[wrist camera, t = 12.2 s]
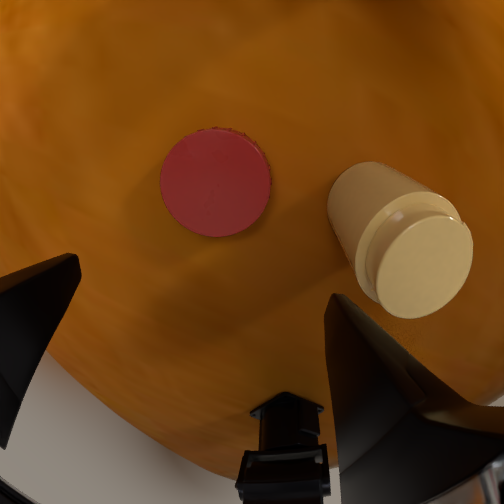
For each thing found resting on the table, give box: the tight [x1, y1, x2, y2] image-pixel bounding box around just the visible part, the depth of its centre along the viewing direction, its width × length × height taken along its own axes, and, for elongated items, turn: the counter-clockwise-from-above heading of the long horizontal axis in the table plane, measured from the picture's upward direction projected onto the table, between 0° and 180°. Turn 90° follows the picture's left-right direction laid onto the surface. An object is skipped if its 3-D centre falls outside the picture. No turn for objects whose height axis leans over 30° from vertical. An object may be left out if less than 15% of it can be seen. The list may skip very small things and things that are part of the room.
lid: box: [160, 127, 272, 237], centre depth 17 cm, size 7×7×2 cm
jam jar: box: [327, 162, 473, 319], centre depth 14 cm, size 6×6×9 cm
